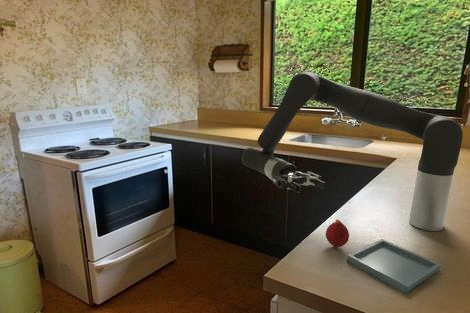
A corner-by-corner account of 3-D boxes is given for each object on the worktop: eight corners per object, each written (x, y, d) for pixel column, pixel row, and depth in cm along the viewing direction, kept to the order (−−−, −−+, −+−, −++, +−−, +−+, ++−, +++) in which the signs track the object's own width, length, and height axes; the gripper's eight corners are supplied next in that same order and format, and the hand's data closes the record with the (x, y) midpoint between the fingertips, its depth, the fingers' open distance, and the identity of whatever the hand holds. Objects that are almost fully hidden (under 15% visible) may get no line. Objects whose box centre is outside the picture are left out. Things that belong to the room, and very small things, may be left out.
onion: (343, 242, 93) (346, 215, 91) (350, 253, 88) (354, 224, 86) (322, 242, 93) (324, 214, 91) (328, 253, 88) (331, 224, 86)
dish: (381, 245, 92) (382, 238, 92) (439, 271, 81) (441, 264, 80) (346, 261, 84) (347, 255, 83) (406, 294, 72) (408, 286, 72)
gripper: (262, 162, 107) (292, 177, 93) (299, 158, 113) (333, 172, 99) (261, 184, 109) (290, 203, 95) (297, 180, 115) (330, 197, 101)
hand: (312, 187), depth 97 cm, fingers open, 8 cm apart
